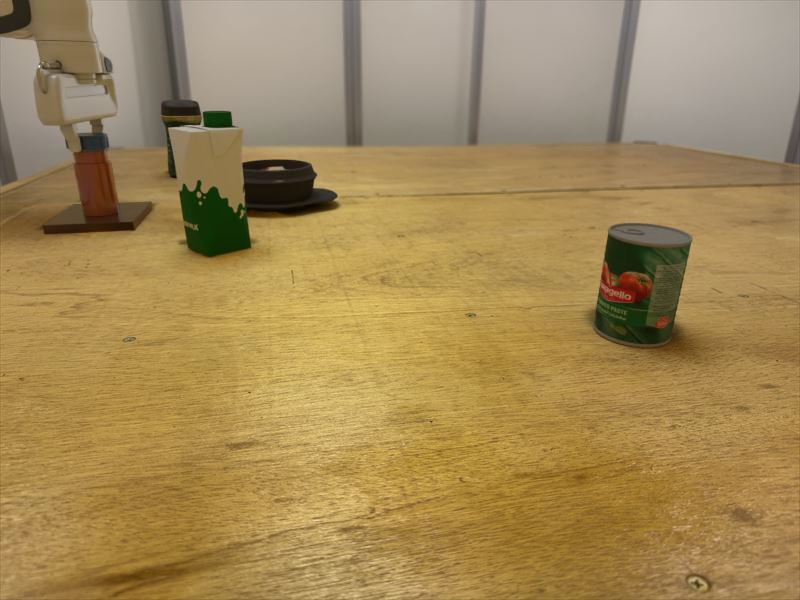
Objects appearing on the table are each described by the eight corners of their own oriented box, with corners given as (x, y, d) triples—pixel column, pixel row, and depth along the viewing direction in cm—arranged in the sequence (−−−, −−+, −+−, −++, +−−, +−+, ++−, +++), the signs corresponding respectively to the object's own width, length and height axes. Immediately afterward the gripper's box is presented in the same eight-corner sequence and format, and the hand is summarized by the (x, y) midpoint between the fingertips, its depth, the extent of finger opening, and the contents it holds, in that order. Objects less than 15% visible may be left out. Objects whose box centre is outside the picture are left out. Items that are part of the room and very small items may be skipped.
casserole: (213, 222, 100) (207, 175, 97) (211, 200, 116) (206, 160, 113) (347, 213, 107) (346, 169, 104) (328, 194, 123) (326, 155, 120)
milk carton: (259, 248, 86) (247, 112, 78) (204, 260, 80) (185, 115, 72) (231, 236, 91) (217, 109, 84) (178, 247, 85) (158, 111, 78)
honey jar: (79, 217, 96) (65, 152, 92) (87, 209, 101) (74, 148, 97) (117, 215, 98) (105, 151, 93) (123, 207, 103) (111, 147, 99)
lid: (117, 146, 98) (115, 133, 97) (93, 150, 92) (91, 136, 91) (83, 145, 99) (81, 132, 98) (58, 149, 93) (55, 135, 92)
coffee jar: (171, 179, 138) (160, 100, 131) (167, 174, 144) (156, 99, 137) (211, 176, 142) (202, 100, 135) (205, 171, 149) (196, 98, 142)
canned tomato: (681, 330, 60) (703, 232, 56) (656, 355, 54) (678, 249, 50) (609, 310, 65) (625, 218, 60) (580, 331, 59) (595, 232, 55)
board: (44, 234, 92) (42, 225, 91) (75, 211, 106) (73, 203, 105) (134, 230, 94) (132, 221, 94) (152, 208, 109) (151, 201, 108)
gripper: (57, 61, 81) (77, 157, 86) (117, 62, 99) (130, 141, 105) (12, 60, 80) (35, 157, 86) (82, 61, 99) (97, 141, 104)
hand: (88, 148), depth 95 cm, fingers closed on lid, 6 cm apart
